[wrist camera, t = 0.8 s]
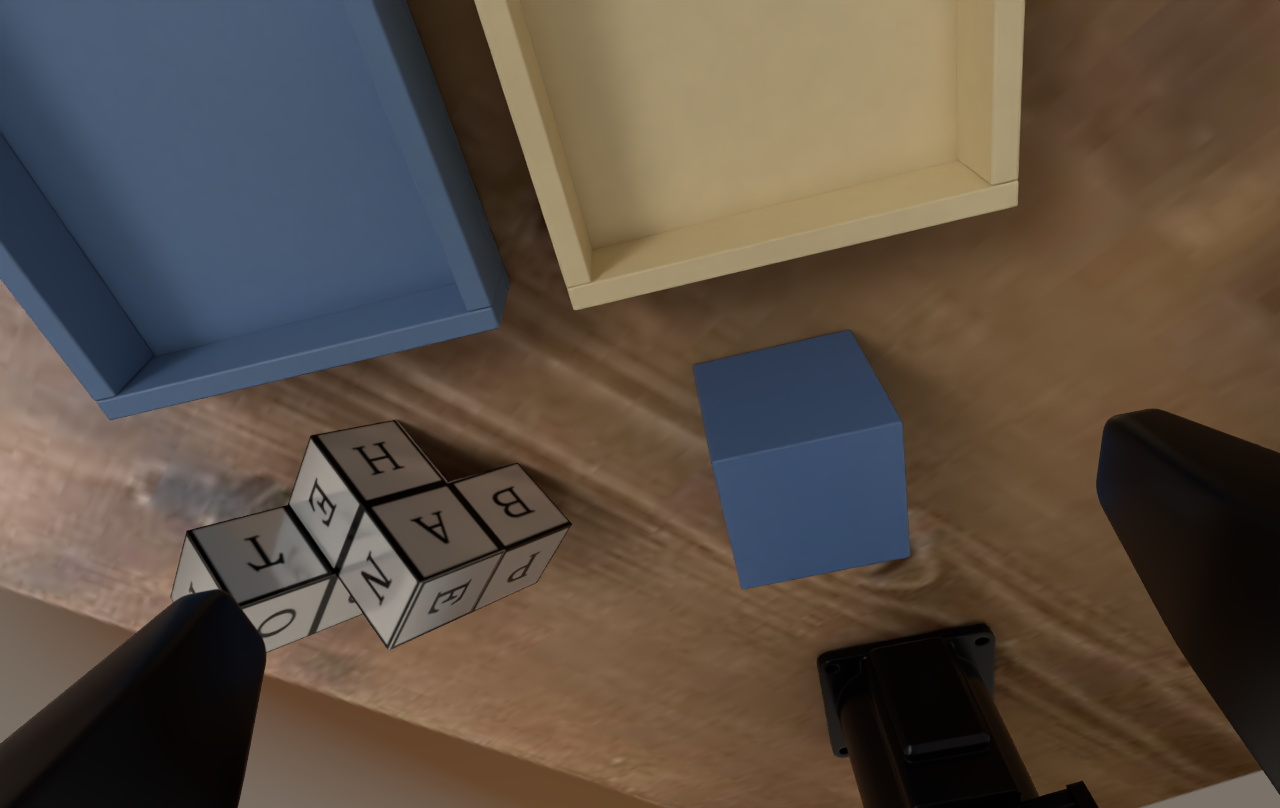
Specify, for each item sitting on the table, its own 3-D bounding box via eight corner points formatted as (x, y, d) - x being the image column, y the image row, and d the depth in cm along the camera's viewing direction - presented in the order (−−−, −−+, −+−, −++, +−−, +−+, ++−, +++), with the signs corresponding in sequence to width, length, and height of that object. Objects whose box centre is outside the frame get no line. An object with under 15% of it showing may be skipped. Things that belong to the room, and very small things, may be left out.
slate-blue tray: (511, 284, 20) (500, 328, 18) (157, 369, 21) (108, 421, 19) (256, -411, 13) (190, -469, 11) (-263, -233, 14) (-414, -254, 12)
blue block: (862, 452, 24) (911, 557, 20) (720, 483, 24) (741, 590, 21) (850, 328, 21) (902, 421, 18) (692, 364, 22) (711, 462, 18)
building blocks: (467, 406, 25) (205, 455, 18) (572, 523, 22) (316, 624, 16) (416, 520, 27) (170, 597, 21) (505, 635, 25) (262, 759, 19)
